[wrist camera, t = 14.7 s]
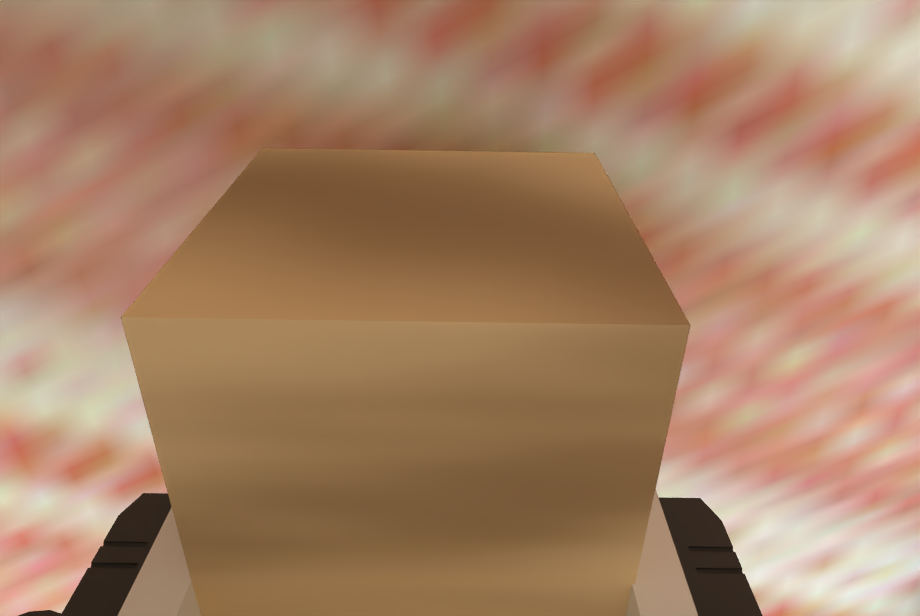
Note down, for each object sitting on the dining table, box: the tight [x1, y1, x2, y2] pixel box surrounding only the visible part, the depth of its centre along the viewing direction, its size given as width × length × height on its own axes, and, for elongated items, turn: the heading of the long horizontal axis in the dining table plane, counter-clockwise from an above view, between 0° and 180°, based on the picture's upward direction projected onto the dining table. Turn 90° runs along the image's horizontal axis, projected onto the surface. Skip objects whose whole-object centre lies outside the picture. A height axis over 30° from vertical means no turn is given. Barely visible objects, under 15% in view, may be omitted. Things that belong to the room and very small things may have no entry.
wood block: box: [121, 148, 690, 616], centre depth 12 cm, size 6×6×8 cm
